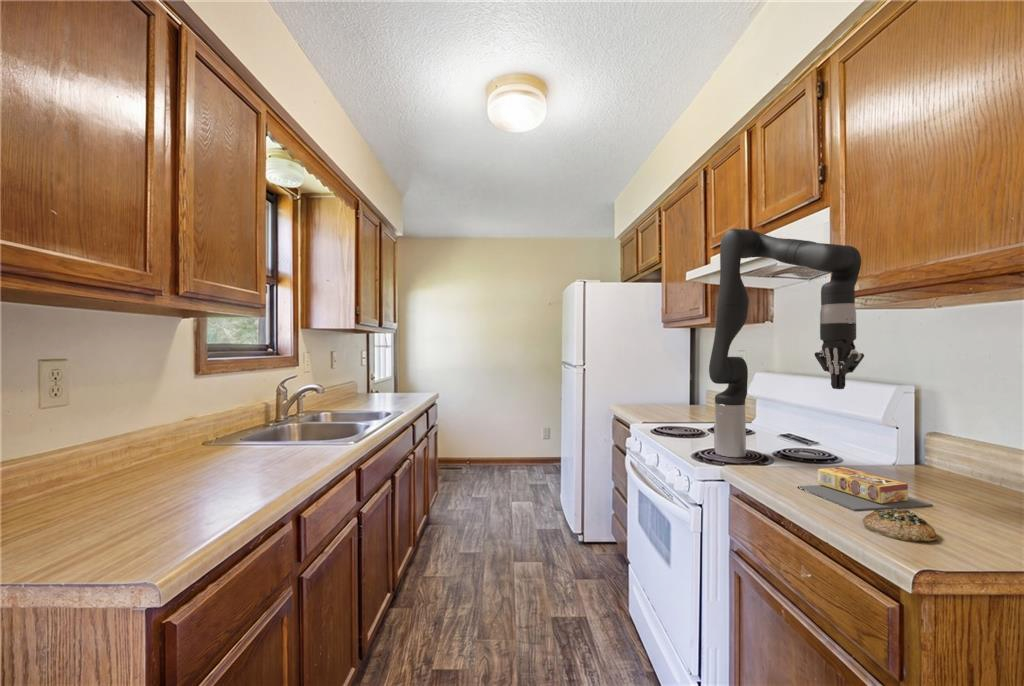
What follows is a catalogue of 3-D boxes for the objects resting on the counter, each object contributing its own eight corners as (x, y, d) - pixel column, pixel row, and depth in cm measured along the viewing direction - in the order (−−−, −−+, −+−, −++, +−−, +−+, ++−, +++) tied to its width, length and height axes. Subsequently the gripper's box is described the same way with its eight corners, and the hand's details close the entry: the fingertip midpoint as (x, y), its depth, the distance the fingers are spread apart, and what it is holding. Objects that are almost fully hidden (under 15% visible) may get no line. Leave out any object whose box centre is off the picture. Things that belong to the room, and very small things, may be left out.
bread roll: (893, 518, 91) (895, 495, 91) (953, 549, 80) (956, 523, 80) (847, 523, 90) (849, 500, 89) (902, 555, 79) (904, 530, 78)
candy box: (816, 484, 113) (880, 505, 98) (816, 468, 113) (880, 486, 98) (842, 481, 115) (908, 501, 100) (842, 465, 115) (908, 483, 100)
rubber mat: (797, 487, 111) (797, 486, 111) (866, 484, 114) (866, 482, 114) (853, 510, 95) (853, 509, 95) (932, 506, 98) (932, 504, 98)
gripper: (804, 323, 118) (804, 386, 118) (847, 320, 105) (847, 392, 105) (829, 323, 119) (829, 386, 119) (874, 320, 106) (875, 391, 106)
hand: (838, 388), depth 112 cm, fingers closed
